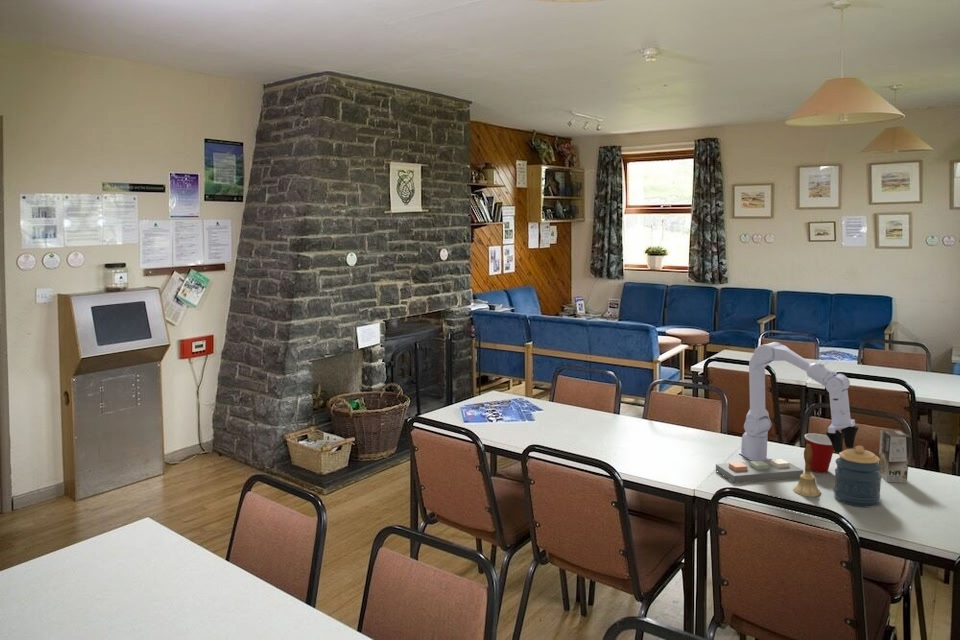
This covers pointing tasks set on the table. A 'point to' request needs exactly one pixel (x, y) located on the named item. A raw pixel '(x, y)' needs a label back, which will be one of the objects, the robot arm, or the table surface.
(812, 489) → the hand bell
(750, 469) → the keypad
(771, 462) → the cream key
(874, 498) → the canister
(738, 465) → the terracotta key
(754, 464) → the sage key
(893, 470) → the coffee box
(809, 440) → the plastic cup
